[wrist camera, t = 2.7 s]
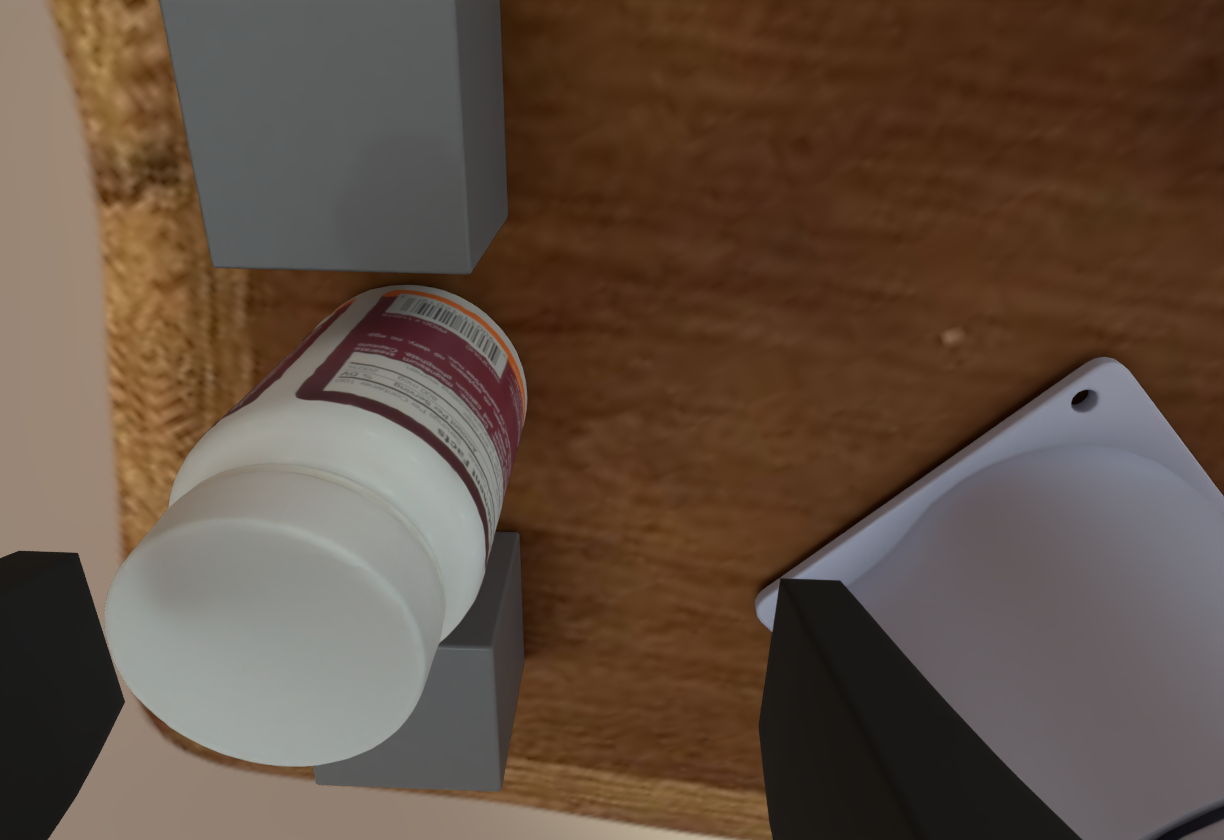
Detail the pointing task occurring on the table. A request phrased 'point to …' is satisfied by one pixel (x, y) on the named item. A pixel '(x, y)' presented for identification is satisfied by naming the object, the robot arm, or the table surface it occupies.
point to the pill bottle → (326, 534)
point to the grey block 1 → (343, 131)
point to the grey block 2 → (458, 698)
